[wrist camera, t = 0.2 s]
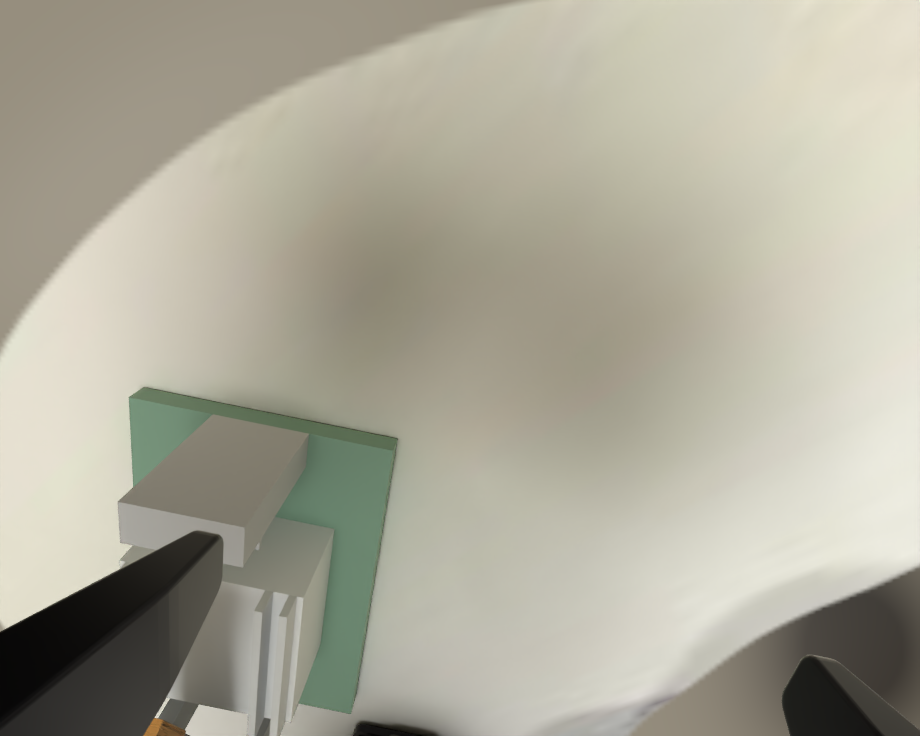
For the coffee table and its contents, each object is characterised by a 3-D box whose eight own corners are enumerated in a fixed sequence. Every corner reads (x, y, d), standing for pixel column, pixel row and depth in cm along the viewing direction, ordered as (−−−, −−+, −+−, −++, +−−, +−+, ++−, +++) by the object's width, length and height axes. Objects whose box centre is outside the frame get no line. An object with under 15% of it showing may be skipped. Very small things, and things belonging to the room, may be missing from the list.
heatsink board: (355, 696, 30) (310, 861, 23) (154, 655, 30) (48, 808, 23) (397, 438, 24) (352, 559, 17) (143, 387, 24) (-5, 486, 17)
